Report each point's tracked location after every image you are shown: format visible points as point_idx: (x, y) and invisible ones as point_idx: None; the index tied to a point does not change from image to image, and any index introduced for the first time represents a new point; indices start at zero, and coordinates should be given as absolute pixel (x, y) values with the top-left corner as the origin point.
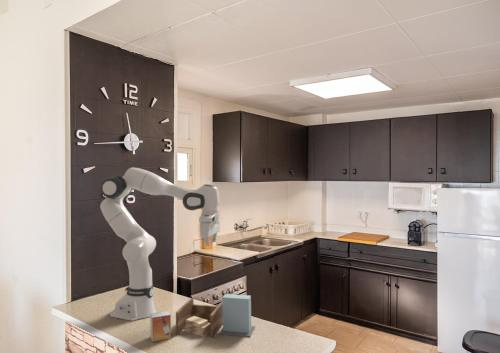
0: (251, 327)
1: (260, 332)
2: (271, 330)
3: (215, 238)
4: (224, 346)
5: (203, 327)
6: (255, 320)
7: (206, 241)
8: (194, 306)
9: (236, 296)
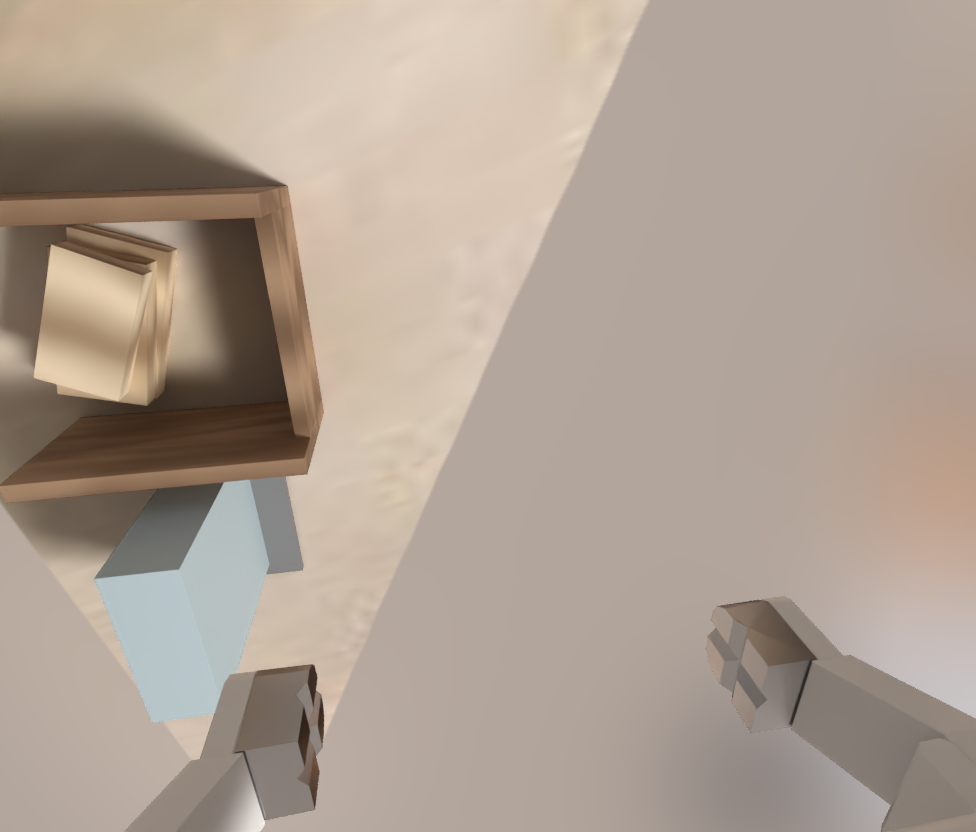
0: (282, 561)
1: (258, 601)
2: (298, 632)
3: (792, 722)
4: (32, 512)
5: (64, 386)
6: (384, 545)
7: (168, 815)
8: (259, 228)
9: (164, 649)
